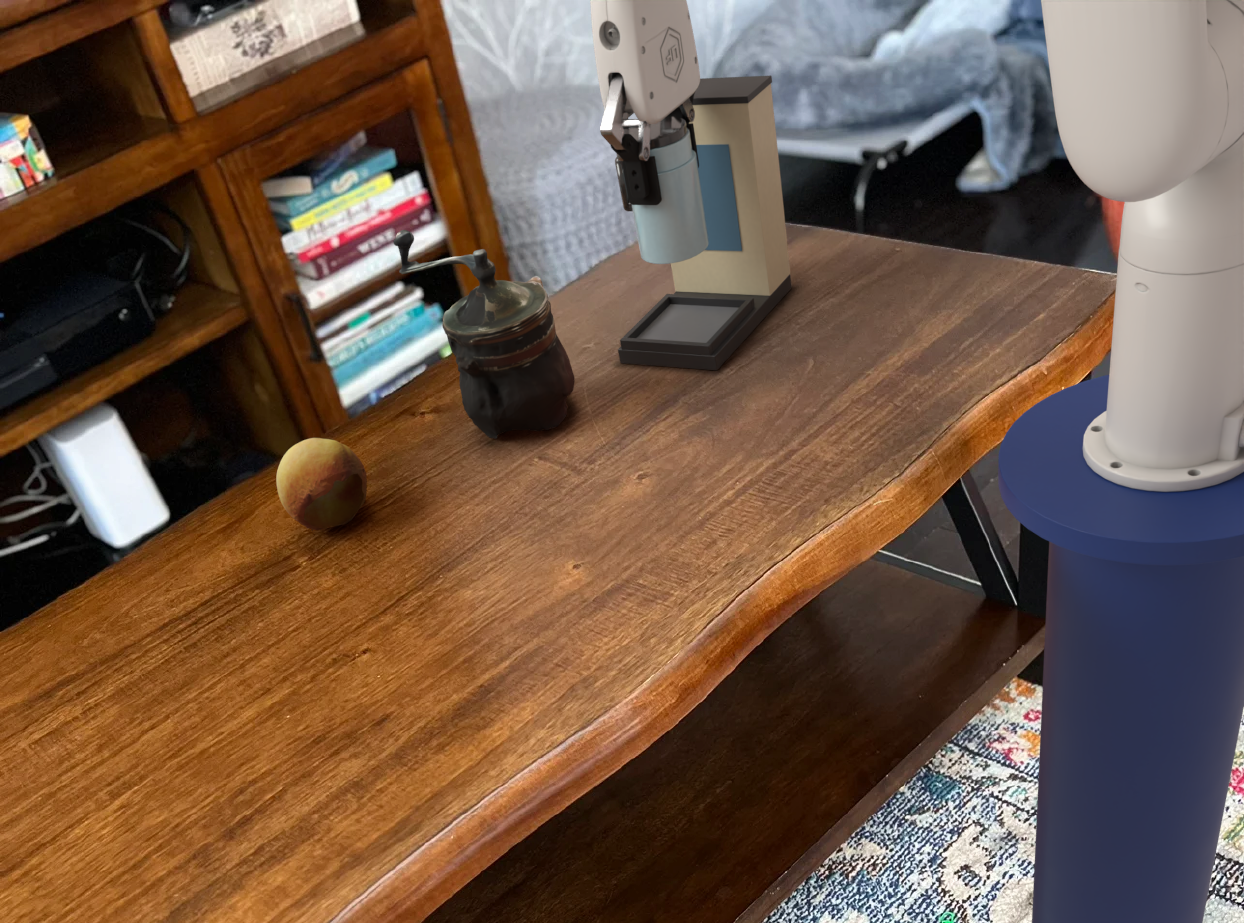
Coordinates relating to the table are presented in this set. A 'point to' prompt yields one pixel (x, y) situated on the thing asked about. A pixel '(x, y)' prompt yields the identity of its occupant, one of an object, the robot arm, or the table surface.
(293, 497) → the fruit
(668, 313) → the coffee maker
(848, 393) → the table surface
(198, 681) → the table surface
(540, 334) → the coffee grinder
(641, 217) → the carafe
